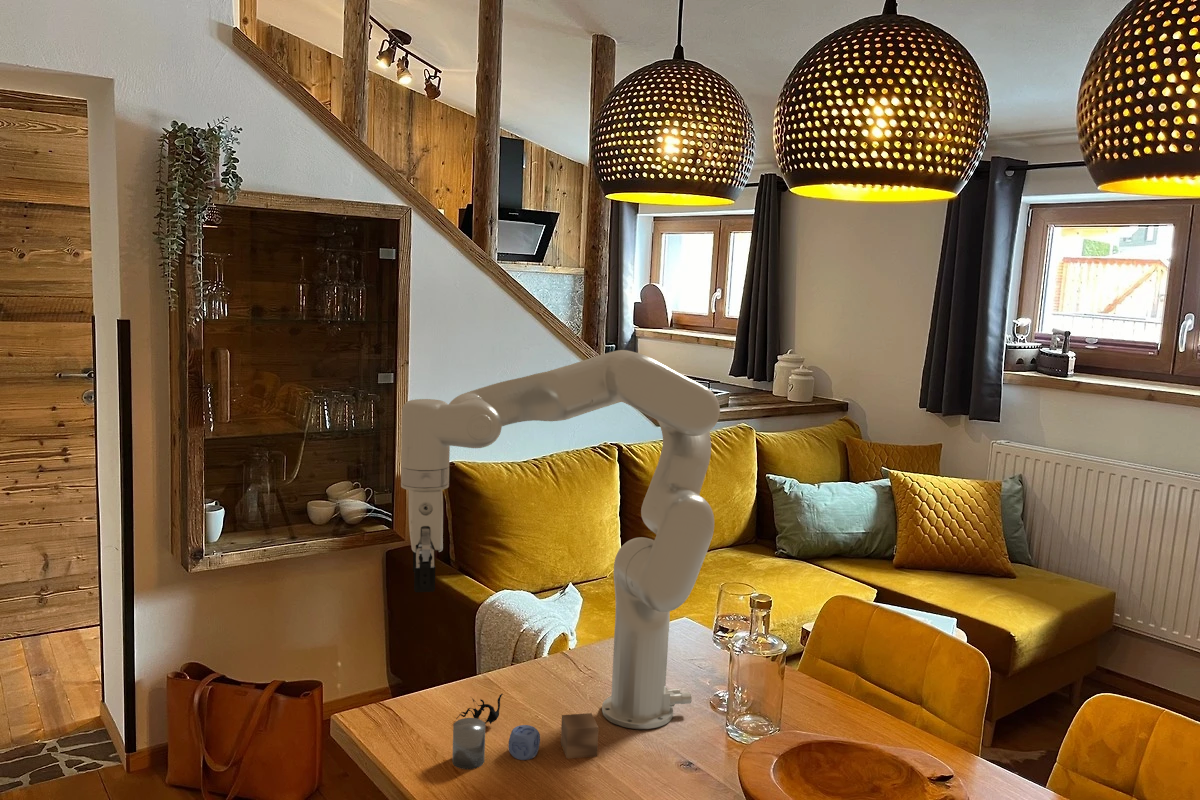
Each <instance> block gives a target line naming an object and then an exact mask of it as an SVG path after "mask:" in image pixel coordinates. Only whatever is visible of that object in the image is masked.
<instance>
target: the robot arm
mask: <svg viewBox="0 0 1200 800" xmlns="http://www.w3.org/2000/svg"><path fill="white" fill-rule="evenodd" d="M619 403H623V404H626V405H628V406H630V407H632V408H634V409H635V410H637V411H638V412H641V413H643V414H645V415H646V416H648V417H650V418H652V419H654V420H656V421H657V422H658V424H659V426H660V431H661V435H662V446H661V447H662V448H661V453H660V456H659V459H658V463H657V466H656V468H655V470H654V473H653V475H652V477H651V479H650V480H651V481H650V482H649V483H650V484H649V486H648V489H647V490H646V491H647V492H646V494H645V497H644V498H643V502H642V504H641V508H640V509H641V510H640V514H641V516H640V517H641V519H642V521H643V523H644V525H645V526H646V527H647V528H648V530H650V532H653V533H654V534H655V535H656V536H655V538H654V539H652V538H648V537H642V536H641V537H634V538H632V539H629V540H627V541H626V542H625V543H624V544H623V545H622V546H621V547H619V550H618V551H617V553H616V555H615V559H614V561H613V562H614V563H613V584H614V594H615V595H614V597H615V616H614V617H615V619H614V620H615V622H614V635H613V637H614V640H613V655H612V656H613V657H612V662H613V663H612V678H611V694H610V696H608V697H607V698H606V699H604V700H603V701H602V705H601V706H602V707H601V713H602V715H603V716H604V718H605V719H606V720H607V721H609V722H611V723H612V724H614V725H617V726H619V727H623V728H627V729H633V730H634V729H635V730H649V729H655V728H660V727H662V726H665V725H667V724H669V723H670V721H671V720H672V719H673V715H674V707H675V705H679V704H680V705H690V704H692V701H693V699H692V694H691V692H681V690H680V688H679V687H678V688H669V689H668V688H667V686H666V684H667V670H668V669H667V665H668V651H669V650H668V649H669V634H670V633H669V632H670V619H671V618H670V617H671V616H670V612H671V611H675V610H676V609H678V608H680V607H682V605H683V604H684V603H685V602H686V601H687V599H688V598H689V596H690V595H691V594H692V593H691V592H692V590H693V589H694V586H695V584H696V581H697V579H698V578H699V577H698V576H699V573H700V571H701V568H702V566H703V563H704V561H705V558H706V555H707V553H708V550H709V547H710V545H711V542H712V539H713V535H714V532H715V531H714V530H715V515H714V511H713V509H712V507H711V505H710V504H709V502H708V501H707V500H706V499H705V498H704V497H702V496H701V495H700V493H701V490H702V487H703V485H704V482H705V477H706V475H707V471H708V468H709V465H710V461H711V455H712V440H711V434H710V431H712V430H713V429H714V427H715V426H716V425H717V423H718V421H719V418H720V414H721V407H720V403H719V400H718V398H717V396H716V395H715V394H714V392H713V391H712V390H711V389H710V388H708V387H707V386H704V385H703V384H701V383H699V382H697V381H695V380H693V379H691V378H689V377H687V376H685V375H683V374H682V373H680V372H678V371H676V370H674V369H673V368H671V367H668V366H667V365H665V364H663V363H661V362H659V361H658V360H656V359H654V358H652V357H651V356H648V355H646V354H643V353H640V352H635V351H632V350H627V349H620V350H614V351H609V352H605V353H603V354H599V355H597V356H593V357H589V358H588V359H584V360H580V361H578V362H574V363H571V364H568V365H564V366H561V367H557V368H554V369H551V370H548V371H547V370H546V371H544V372H539V373H537V372H536V373H534V374H533V373H532V374H529V375H525V376H522V377H518V378H513V379H508V380H505V381H500V382H496V383H492V384H489V385H486V386H483V387H479V388H477V389H473V390H471V391H470V390H469V391H467V392H464V393H461V394H458V396H455V398H453V399H452V400H451V401H450V402H449V404H448V403H447V402H446V401H443V400H440V399H434V398H433V399H432V398H417V399H416V398H415V399H410V400H408V401H406V402H405V403H404V404H403V406H402V408H401V443H400V444H401V445H400V446H401V450H400V451H401V452H400V453H401V454H400V455H401V456H400V460H401V462H400V465H401V466H400V469H401V471H400V487H401V488H402V489H404V490H406V491H408V528H409V530H408V531H409V538H410V546H411V550H412V553H413V554H412V572H413V573H414V574H413V577H414V578H413V579H414V582H413V590H414V593H430V592H431V593H434V592H435V591H436V565H435V551H438V553H440V552H442V551H443V550H444V543H443V542H444V538H443V537H444V536H443V535H444V496H443V490H446V489H448V488H449V487H450V455H451V454H450V450H451V449H450V447H459V448H460V447H461V448H465V449H466V448H467V449H482V448H486V447H489V446H490V445H492V444H493V443H495V442H496V441H497V440H498V438H499V437H500V435H501V433H502V432H501V431H502V429H503V428H502V427H505V426H508V425H512V424H517V423H523V422H531V421H534V422H535V421H536V422H537V421H539V422H540V421H541V422H560V421H567V420H569V419H572V418H575V417H579V416H581V415H584V414H587V413H590V412H594V411H596V410H600V409H603V408H606V407H609V406H612V405H615V404H619Z"/></svg>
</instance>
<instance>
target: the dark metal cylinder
mask: <svg viewBox="0 0 1200 800" xmlns="http://www.w3.org/2000/svg"><path fill="white" fill-rule="evenodd" d="M485 722H486V721H484V720H483V719H481V718H474V717H463V718H460V719H457V720H456V721H455V722H454V723H453V727H452V757H451V758H452V765H453V766H454V767H456V768H458V769H461V770H474V768H475V769H478V768H479V767H481V766H483V765H484V764H485V753H486V752H485V751H486V747H485V746H486V724H485ZM483 763H484V764H483ZM477 767H478V768H477Z"/></svg>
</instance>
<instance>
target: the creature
mask: <svg viewBox="0 0 1200 800" xmlns="http://www.w3.org/2000/svg"><path fill="white" fill-rule="evenodd" d="M503 695H504V693H500V694H499V697H498V698H497V709H496V711H495V708H494V706H492V705H491V704H489V703H485V701H484V700H483V699H479V700H480V702H482V704H478V703H477V701H476V700H475V699H474V698H473V697H472V696H470V699H472V701H473V704H474V708H473V707H468V708H467V710H465V711H462V712H460V713H459V715H457V717H456V719H455V720H458V718H460V716H461V717H463V718H466V716H467V715H468V713H469V712H471V714H472V718H477V719H479V717H480V716H481V714H482V712H484V711H485V708H488V709H489V713H488V716H487V718H486V717H484V718H482V720H483V719H485V721H484V722H485V725H487V723H488V722H489V724H490V725H491V724H492V723H493V722H495V721H497V720H498V718H499V715H500V708H501V698H502V696H503ZM475 704H476V705H477V707H480V708H479V709H477V708H476V705H475ZM473 711H474V712H473Z"/></svg>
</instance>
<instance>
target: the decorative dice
mask: <svg viewBox="0 0 1200 800" xmlns="http://www.w3.org/2000/svg"><path fill="white" fill-rule="evenodd" d="M509 735H510V736H509V739H508V752H509V754H510V755H511V756H512V757H513V758H514V759H516V760H520V761H521V760H522V761H527V760H532V759H533V758H535V757H536V756H537V755H538V753H539V748H540V743H541V734H540V732H539V731H538V729H537V728H536V727H535V726H532V725H528V724H522V725H521V724H520V725H517V726H514V728H513V729H512V730H511V732H510V734H509Z"/></svg>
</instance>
